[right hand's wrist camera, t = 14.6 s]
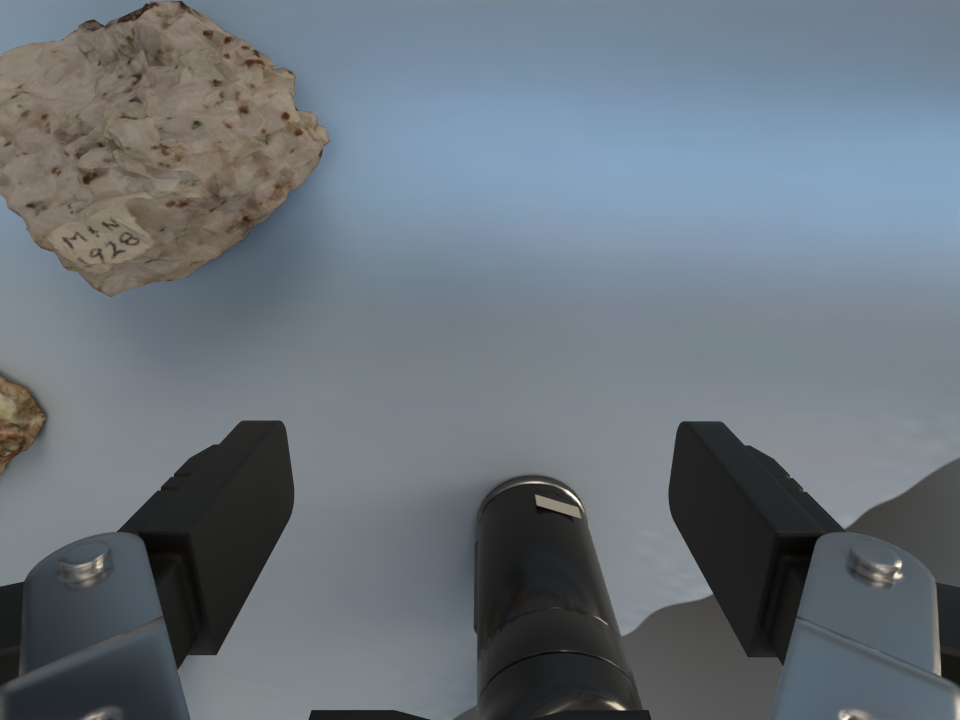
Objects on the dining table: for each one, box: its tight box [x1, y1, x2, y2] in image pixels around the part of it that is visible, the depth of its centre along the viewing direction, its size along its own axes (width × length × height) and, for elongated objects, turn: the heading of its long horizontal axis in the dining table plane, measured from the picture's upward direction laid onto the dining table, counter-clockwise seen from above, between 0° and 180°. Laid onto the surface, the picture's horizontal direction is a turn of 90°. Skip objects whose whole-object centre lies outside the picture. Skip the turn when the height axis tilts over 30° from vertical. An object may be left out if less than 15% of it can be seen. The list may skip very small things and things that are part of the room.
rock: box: [0, 1, 330, 297], centre depth 31 cm, size 15×17×15 cm
